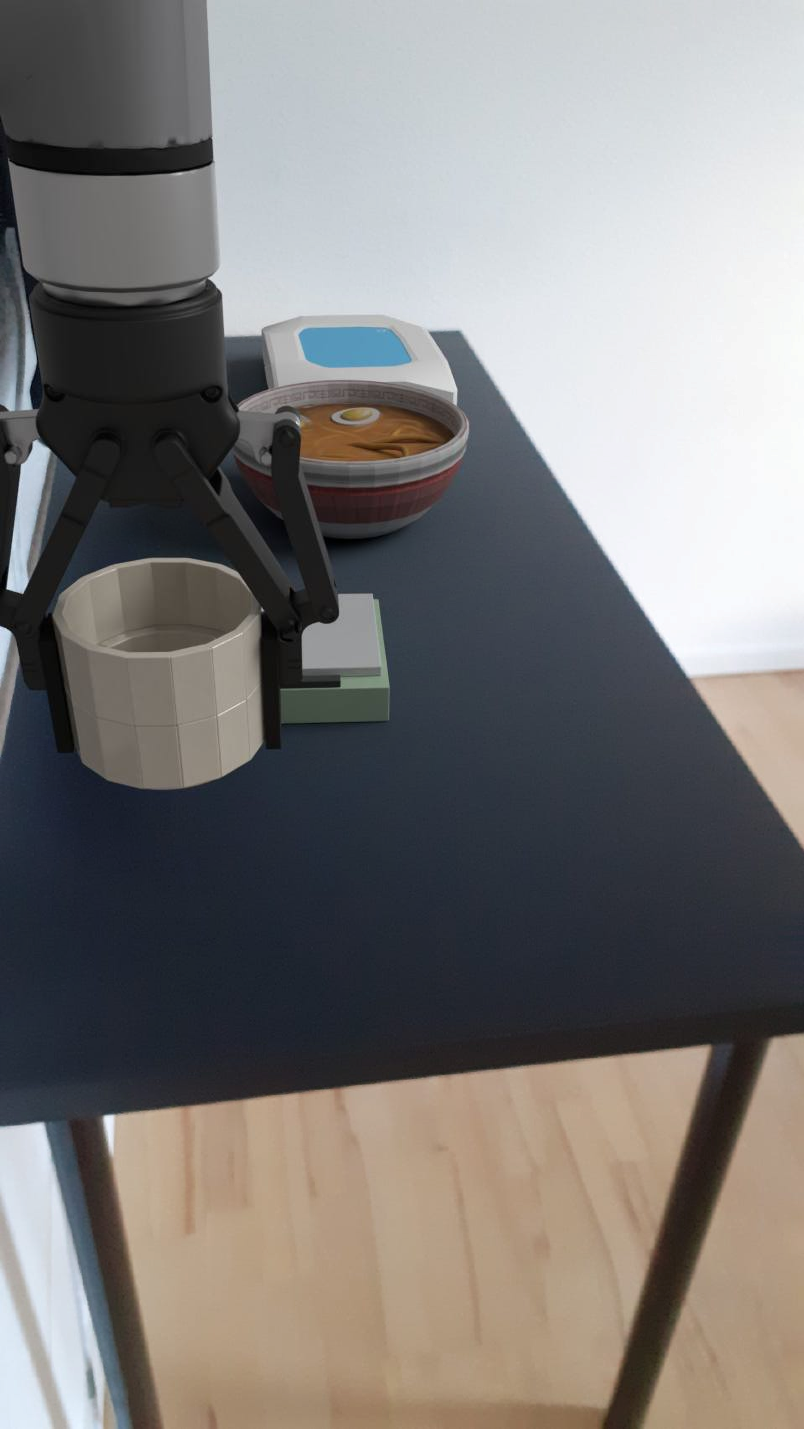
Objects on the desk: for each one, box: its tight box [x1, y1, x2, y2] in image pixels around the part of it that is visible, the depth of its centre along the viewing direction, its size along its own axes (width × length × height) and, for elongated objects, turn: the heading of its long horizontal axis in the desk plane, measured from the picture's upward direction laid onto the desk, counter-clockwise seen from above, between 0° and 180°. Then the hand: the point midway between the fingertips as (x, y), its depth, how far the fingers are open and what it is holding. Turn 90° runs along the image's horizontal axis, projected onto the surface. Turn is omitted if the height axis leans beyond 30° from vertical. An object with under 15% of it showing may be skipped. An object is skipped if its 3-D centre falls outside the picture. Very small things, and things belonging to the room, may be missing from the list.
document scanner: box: [261, 314, 458, 407], centre depth 135 cm, size 21×28×6 cm
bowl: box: [230, 380, 470, 540], centre depth 105 cm, size 23×23×10 cm
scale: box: [262, 593, 391, 725], centre depth 83 cm, size 13×13×4 cm
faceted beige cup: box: [52, 557, 266, 791], centre depth 53 cm, size 10×10×8 cm
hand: (172, 735), depth 56 cm, fingers closed on faceted beige cup, 10 cm apart
